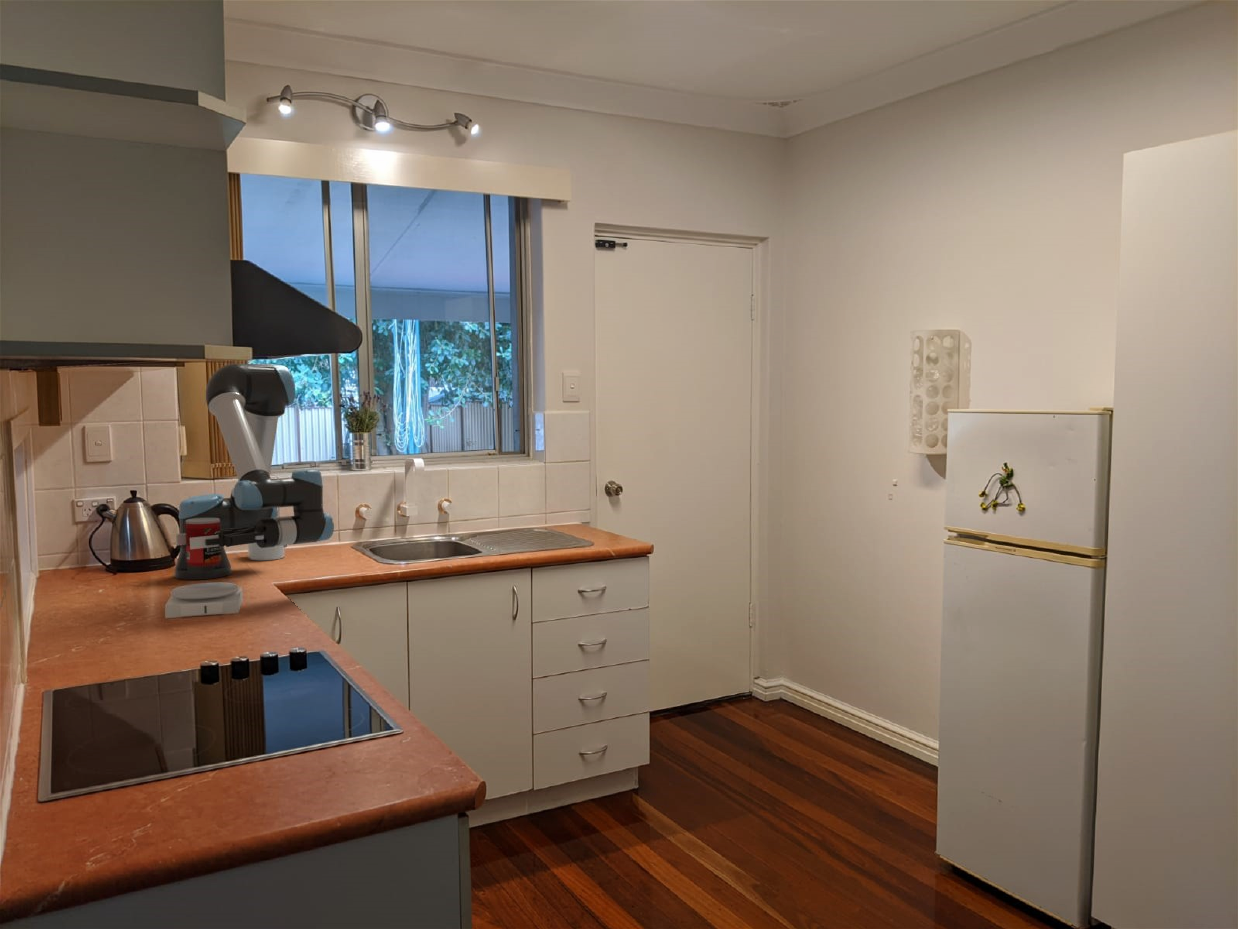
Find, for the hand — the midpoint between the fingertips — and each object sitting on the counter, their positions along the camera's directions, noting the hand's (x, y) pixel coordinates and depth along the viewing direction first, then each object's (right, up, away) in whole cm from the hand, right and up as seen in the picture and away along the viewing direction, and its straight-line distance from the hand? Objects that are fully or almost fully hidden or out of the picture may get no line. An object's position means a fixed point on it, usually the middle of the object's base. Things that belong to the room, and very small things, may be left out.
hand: (183, 541), depth 224 cm
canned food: (+3, -6, +4) cm, 8 cm away
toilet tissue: (-10, -12, +77) cm, 79 cm away
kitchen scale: (+3, -17, +5) cm, 18 cm away
